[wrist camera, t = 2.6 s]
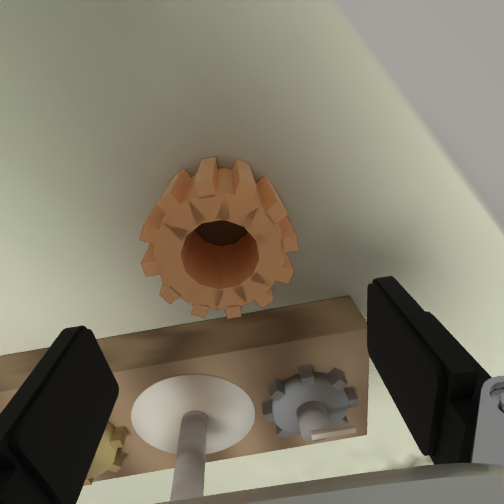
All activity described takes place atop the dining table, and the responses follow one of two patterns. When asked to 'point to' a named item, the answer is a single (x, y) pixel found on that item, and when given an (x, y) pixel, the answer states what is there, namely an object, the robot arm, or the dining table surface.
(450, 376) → the robot arm
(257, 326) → the gear board
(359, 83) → the dining table surface
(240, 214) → the orange gear
